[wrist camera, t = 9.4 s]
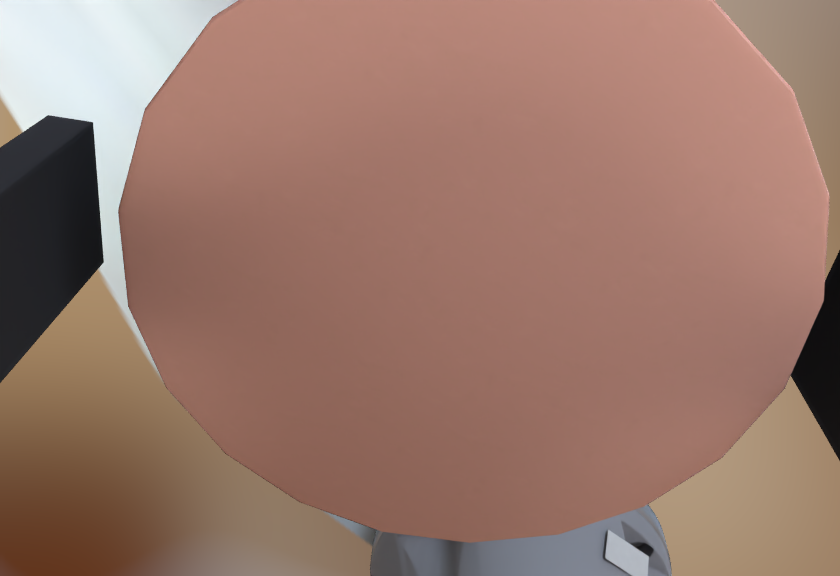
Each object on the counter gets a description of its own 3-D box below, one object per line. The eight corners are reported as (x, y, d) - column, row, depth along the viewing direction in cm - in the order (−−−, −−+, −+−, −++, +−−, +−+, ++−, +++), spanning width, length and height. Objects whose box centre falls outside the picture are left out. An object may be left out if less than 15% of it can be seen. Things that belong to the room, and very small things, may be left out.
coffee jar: (268, -70, 26) (-37, 97, 11) (583, -206, 24) (778, -244, 8) (388, 206, 31) (298, 591, 16) (659, 118, 28) (870, 475, 13)
